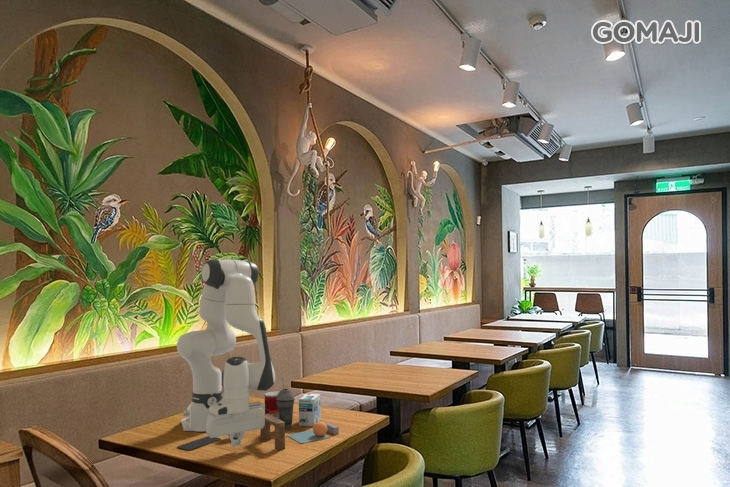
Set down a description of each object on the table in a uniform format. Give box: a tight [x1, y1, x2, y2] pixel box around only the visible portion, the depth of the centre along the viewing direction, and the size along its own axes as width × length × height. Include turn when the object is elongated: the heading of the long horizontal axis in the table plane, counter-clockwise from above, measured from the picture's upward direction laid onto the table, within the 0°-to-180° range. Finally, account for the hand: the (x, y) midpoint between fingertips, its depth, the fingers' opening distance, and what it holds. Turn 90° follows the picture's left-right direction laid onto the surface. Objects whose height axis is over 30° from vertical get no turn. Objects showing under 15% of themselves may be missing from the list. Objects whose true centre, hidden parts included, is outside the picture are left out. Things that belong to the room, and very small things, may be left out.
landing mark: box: [286, 429, 331, 445], centre depth 199 cm, size 12×12×1 cm
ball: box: [312, 420, 328, 437], centre depth 199 cm, size 5×5×5 cm
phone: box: [176, 435, 222, 452], centre depth 193 cm, size 7×1×15 cm
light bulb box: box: [298, 393, 322, 427], centre depth 218 cm, size 11×7×11 cm, turn 170°
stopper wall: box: [324, 422, 340, 436], centre depth 205 cm, size 8×2×2 cm, turn 34°
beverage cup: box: [276, 377, 295, 432], centre depth 209 cm, size 7×7×20 cm
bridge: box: [259, 413, 286, 451], centre depth 191 cm, size 3×14×9 cm, turn 34°
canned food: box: [264, 390, 281, 419], centre depth 223 cm, size 8×8×11 cm
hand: (236, 445), depth 183 cm, fingers closed
